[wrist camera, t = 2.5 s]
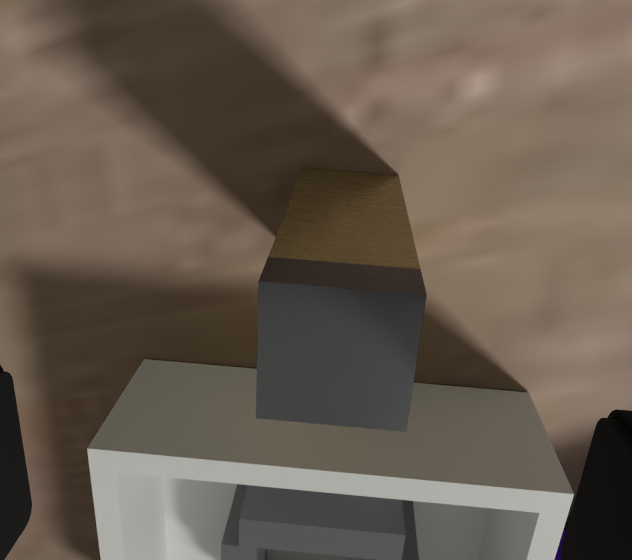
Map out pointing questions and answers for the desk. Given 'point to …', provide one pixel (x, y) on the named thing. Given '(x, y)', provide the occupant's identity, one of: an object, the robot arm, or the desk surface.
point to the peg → (340, 305)
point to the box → (320, 476)
